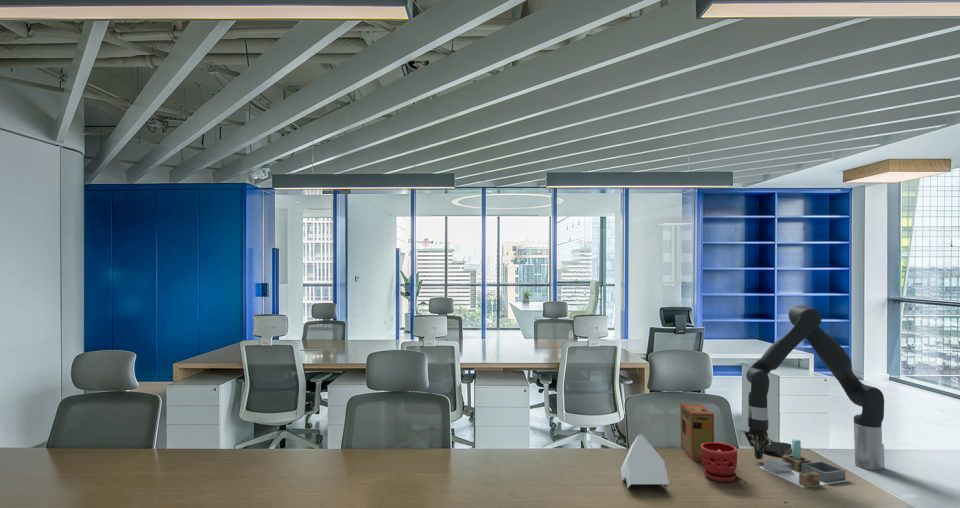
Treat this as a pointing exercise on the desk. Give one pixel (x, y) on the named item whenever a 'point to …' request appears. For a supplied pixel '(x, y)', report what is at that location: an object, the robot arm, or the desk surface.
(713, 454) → the plant pot
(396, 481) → the desk surface
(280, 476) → the desk surface
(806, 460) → the socket
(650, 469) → the slotted wedge
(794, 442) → the dowel
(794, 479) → the board
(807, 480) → the brown wooden block
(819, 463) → the tray
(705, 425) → the box
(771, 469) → the grey rectangular brick
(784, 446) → the black sponge
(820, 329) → the robot arm
